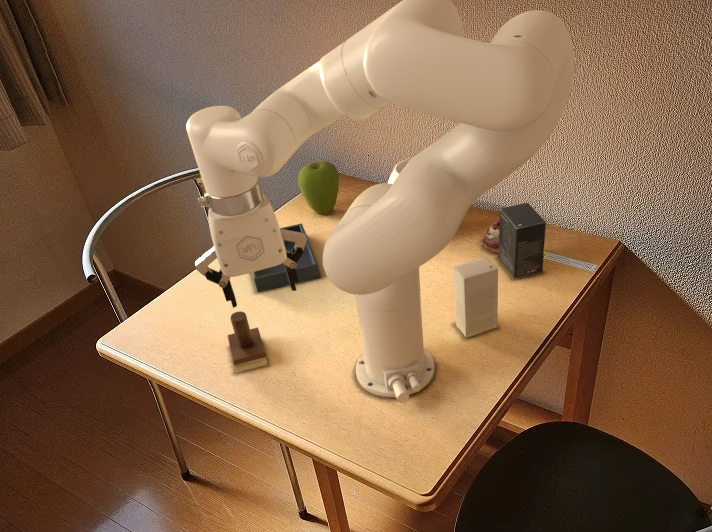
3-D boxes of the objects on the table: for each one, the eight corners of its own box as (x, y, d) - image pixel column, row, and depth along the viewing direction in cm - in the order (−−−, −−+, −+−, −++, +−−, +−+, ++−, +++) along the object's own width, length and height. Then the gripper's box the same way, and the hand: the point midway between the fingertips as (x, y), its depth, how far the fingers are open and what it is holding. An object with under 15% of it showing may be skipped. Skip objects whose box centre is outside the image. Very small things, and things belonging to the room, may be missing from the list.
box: (543, 272, 134) (546, 221, 127) (513, 279, 133) (515, 228, 126) (525, 251, 140) (528, 201, 132) (497, 257, 139) (498, 207, 132)
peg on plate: (268, 365, 122) (257, 324, 117) (236, 373, 122) (224, 333, 116) (261, 339, 128) (250, 299, 122) (230, 347, 127) (218, 307, 121)
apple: (334, 198, 162) (327, 148, 154) (350, 214, 156) (343, 163, 149) (298, 209, 160) (289, 160, 152) (312, 226, 154) (303, 175, 146)
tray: (320, 277, 140) (318, 264, 138) (257, 292, 138) (254, 279, 136) (304, 236, 152) (301, 223, 150) (246, 249, 150) (242, 236, 148)
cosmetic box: (486, 314, 127) (486, 255, 118) (498, 328, 124) (499, 268, 115) (454, 325, 125) (452, 266, 117) (465, 339, 122) (464, 279, 114)
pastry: (475, 239, 144) (475, 217, 141) (509, 228, 146) (510, 206, 142) (496, 259, 138) (497, 236, 135) (531, 247, 140) (532, 224, 137)
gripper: (177, 224, 102) (212, 322, 113) (298, 192, 103) (321, 292, 115) (174, 201, 107) (208, 296, 119) (288, 171, 109) (311, 268, 120)
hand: (263, 294), depth 117 cm, fingers open, 9 cm apart
